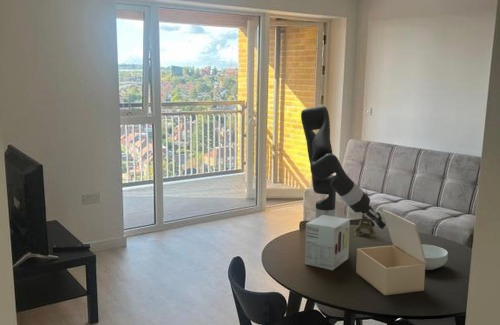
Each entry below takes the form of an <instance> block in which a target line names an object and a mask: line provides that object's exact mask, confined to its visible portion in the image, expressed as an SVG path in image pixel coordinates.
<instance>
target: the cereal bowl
mask: <svg viewBox="0 0 500 325" xmlns="http://www.w3.org/2000/svg"><path fill="white" fill-rule="evenodd" d="M421 245H422V248H423V252H424V255H425V259H426V262H427V263H426V264H425V263H424V262H422V261H420V260H419V261H420V262H422V263H424V264H425V271H433V270H435V269H438V268H441V267H443V266H444V265H445V264H446V263H447V261H448V256H449V253H448V251H447V250H446V249H445V248H442V247H440V246H436V245H432V244H422V243H421ZM405 253H406V252H405ZM407 254H408V253H407ZM408 255H410V254H408ZM410 256H412V255H410ZM412 257H413V256H412ZM413 258H415V257H413ZM415 259H417V258H415ZM417 260H418V259H417Z"/></svg>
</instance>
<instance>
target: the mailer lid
mask: <svg viewBox="0 0 500 325" xmlns="http://www.w3.org/2000/svg"><path fill="white" fill-rule="evenodd" d="M382 213H383V216H384V219H385V224H386V227H387V229H388V234H389V236H390V240H391V244H392V243H393V245H394V246H396V247H398V248H400V249H401V250H403V251H405V252H406V253H408V254H410V255H412V256H413V257H415V258H417V259H418V260H420V261H422V262H424V263H425V264H426V263H427V262H426V259H425V255H424V252H423V248H422V245H421V244H422V242H421V237H420V234H419V231H418V228H417V224H416V223H414V222H413V221H411V220H410V221H409V220H408V219H406V218H403V217H401V216H399V215H397V214H395V213H393V212H391V211H388V210H386V209H384V208H383V209H382Z"/></svg>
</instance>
